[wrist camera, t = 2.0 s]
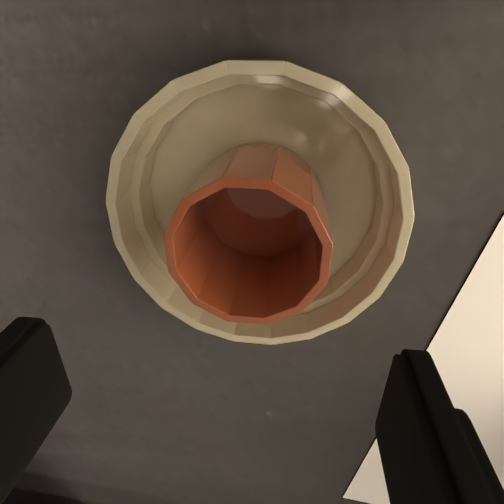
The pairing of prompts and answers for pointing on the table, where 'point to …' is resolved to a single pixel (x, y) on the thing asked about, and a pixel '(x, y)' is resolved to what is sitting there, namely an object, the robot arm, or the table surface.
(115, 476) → the table surface
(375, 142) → the big bowl
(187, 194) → the terracotta pot
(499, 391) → the white flat sheet
